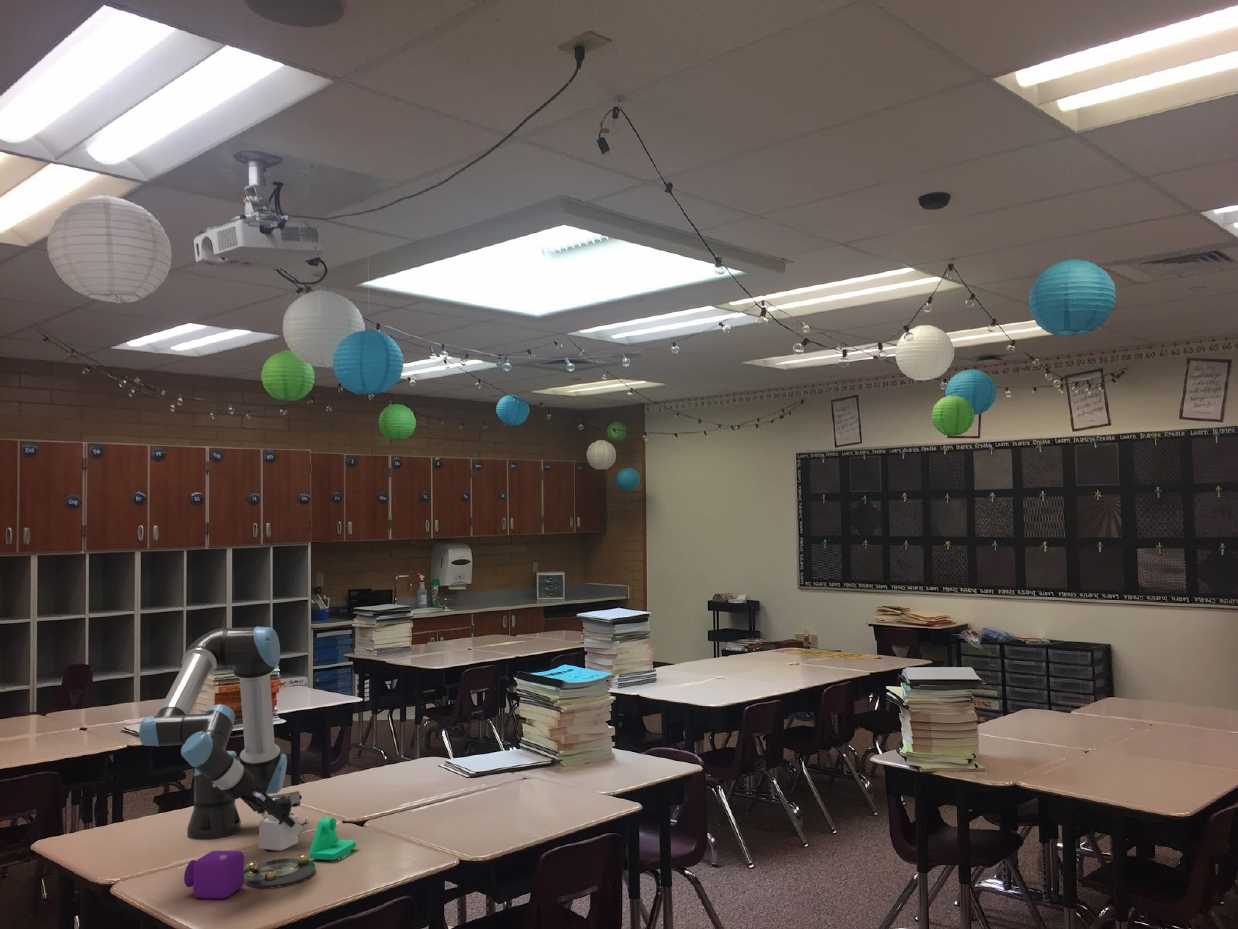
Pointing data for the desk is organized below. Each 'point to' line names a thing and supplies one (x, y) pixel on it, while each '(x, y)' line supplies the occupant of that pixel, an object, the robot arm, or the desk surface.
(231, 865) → the toy camera
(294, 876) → the plate
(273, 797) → the figurine
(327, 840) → the camera mount
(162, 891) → the desk surface
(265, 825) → the medicine bottle
